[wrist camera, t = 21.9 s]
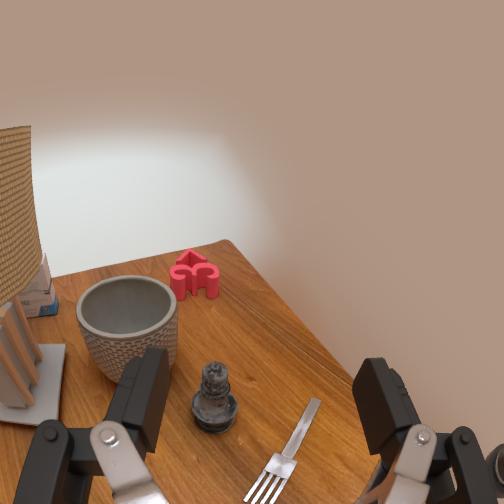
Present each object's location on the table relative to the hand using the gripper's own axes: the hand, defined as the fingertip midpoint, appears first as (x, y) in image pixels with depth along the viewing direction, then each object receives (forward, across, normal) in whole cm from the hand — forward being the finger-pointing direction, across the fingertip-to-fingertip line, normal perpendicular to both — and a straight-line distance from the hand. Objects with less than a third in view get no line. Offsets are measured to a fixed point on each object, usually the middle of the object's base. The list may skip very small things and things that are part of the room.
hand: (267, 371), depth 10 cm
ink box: (+28, +41, +26) cm, 56 cm away
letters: (+47, +11, +26) cm, 55 cm away
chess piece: (+13, +3, +26) cm, 29 cm away
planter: (+20, +15, +26) cm, 36 cm away
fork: (+8, -7, +26) cm, 28 cm away
